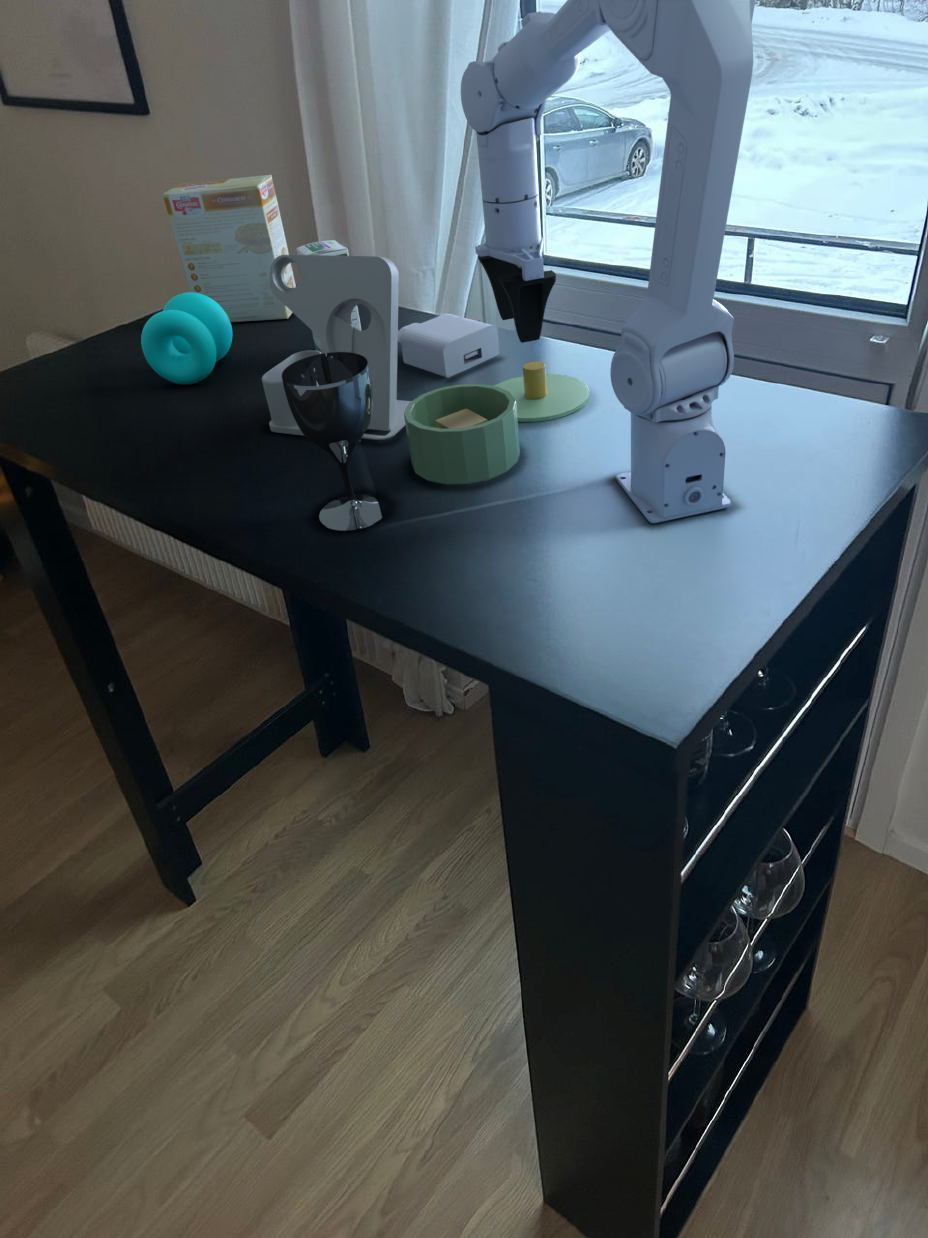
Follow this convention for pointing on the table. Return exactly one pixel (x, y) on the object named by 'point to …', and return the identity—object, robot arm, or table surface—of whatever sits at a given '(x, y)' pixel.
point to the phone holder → (342, 328)
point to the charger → (448, 344)
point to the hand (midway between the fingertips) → (519, 328)
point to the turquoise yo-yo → (187, 338)
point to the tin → (463, 434)
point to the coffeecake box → (231, 243)
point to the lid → (545, 393)
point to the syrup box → (332, 250)
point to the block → (460, 420)
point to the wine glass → (335, 424)
